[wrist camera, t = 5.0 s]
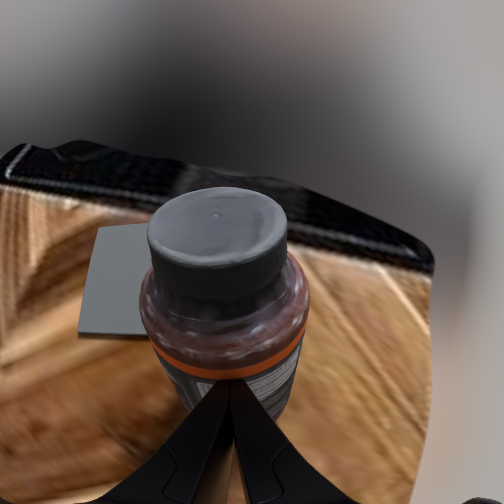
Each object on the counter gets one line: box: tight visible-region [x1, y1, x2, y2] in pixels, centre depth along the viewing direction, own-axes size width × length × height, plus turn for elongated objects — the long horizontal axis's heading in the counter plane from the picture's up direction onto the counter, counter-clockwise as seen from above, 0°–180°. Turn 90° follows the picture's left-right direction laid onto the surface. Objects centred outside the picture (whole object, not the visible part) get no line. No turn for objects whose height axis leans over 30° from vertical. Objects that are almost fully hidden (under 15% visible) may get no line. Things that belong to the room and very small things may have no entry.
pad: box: [78, 223, 152, 336], centre depth 20 cm, size 9×14×1 cm, turn 94°
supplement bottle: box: [139, 187, 310, 421], centre depth 12 cm, size 6×6×11 cm
